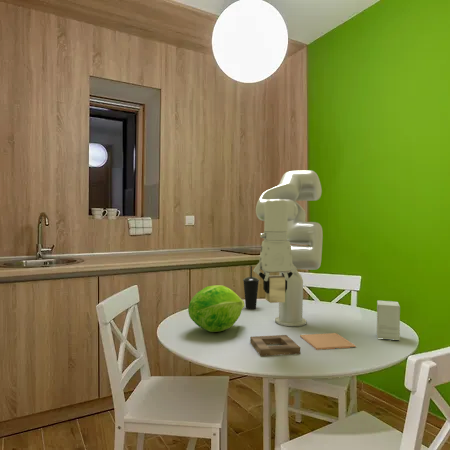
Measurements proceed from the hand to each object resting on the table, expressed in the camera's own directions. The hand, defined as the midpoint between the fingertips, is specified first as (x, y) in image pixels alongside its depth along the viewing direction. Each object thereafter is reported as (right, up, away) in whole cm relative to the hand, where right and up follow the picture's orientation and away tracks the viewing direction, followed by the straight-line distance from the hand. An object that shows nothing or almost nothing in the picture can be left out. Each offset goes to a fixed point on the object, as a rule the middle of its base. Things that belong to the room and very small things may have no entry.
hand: (275, 291), depth 127 cm
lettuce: (-19, -18, +19) cm, 32 cm away
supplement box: (+42, -19, +12) cm, 48 cm away
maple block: (0, -3, 0) cm, 3 cm away
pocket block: (0, -19, 0) cm, 19 cm away
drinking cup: (-4, -17, +54) cm, 57 cm away
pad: (+19, -19, +7) cm, 27 cm away
